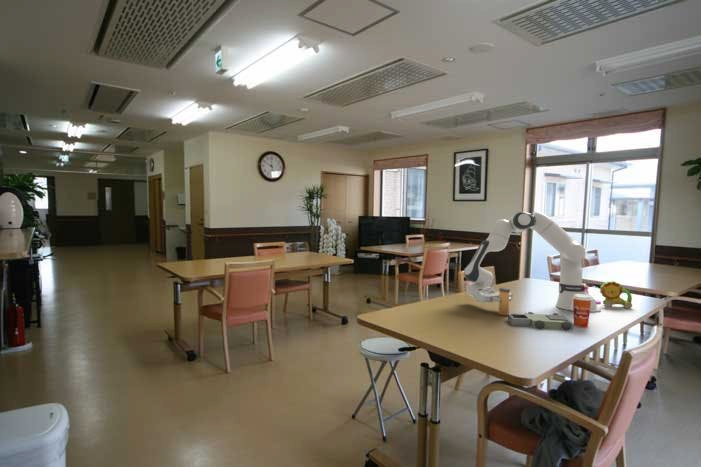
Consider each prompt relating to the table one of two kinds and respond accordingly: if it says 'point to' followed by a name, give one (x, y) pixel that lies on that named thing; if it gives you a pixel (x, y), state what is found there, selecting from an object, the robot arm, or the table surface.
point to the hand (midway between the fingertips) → (505, 300)
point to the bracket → (595, 300)
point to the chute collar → (519, 319)
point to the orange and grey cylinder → (504, 301)
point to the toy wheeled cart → (550, 321)
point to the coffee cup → (581, 309)
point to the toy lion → (615, 294)
